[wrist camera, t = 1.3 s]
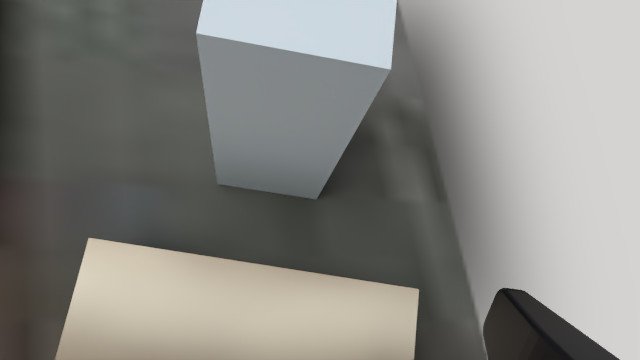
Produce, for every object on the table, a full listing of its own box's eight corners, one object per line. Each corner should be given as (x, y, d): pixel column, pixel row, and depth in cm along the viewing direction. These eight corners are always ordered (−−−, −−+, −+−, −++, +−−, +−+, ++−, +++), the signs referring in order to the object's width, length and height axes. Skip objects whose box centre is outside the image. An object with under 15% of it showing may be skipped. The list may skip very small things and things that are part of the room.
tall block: (316, 199, 23) (390, 69, 12) (217, 184, 23) (196, 33, 11) (327, 110, 25) (403, -83, 13) (234, 93, 24) (230, -121, 13)
